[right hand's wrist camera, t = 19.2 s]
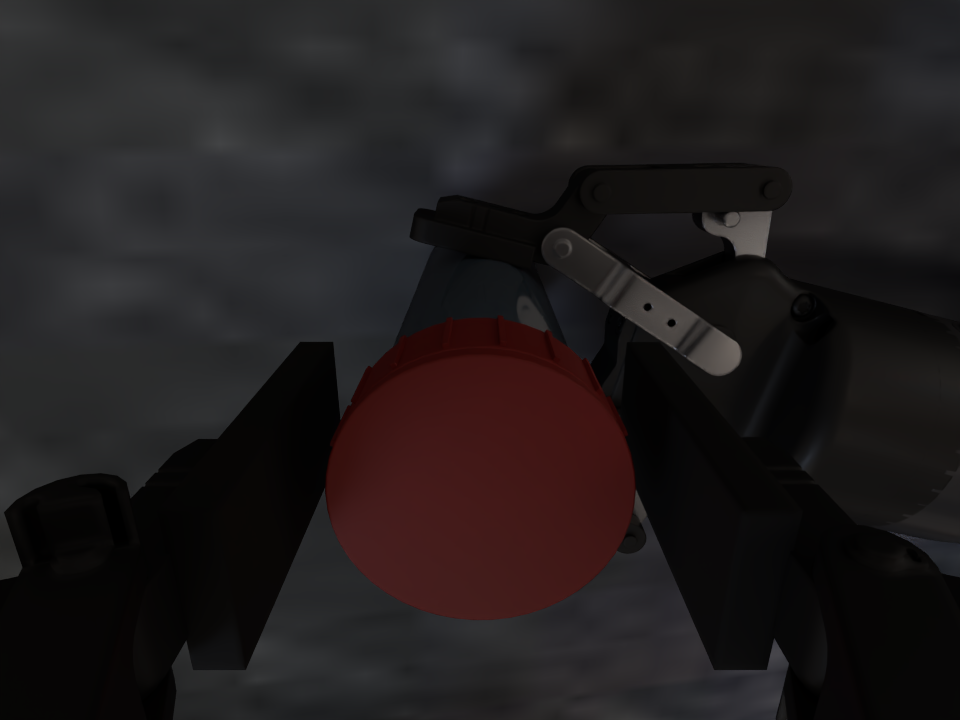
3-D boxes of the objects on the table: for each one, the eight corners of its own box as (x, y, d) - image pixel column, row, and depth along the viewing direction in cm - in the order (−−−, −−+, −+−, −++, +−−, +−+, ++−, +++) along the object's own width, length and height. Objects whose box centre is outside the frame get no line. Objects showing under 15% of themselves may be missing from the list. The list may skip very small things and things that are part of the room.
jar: (462, 351, 26) (440, 615, 12) (403, 260, 25) (298, 438, 11) (555, 298, 25) (653, 514, 11) (500, 201, 24) (529, 307, 10)
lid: (383, 276, 11) (361, 307, 9) (658, 362, 11) (694, 407, 10) (320, 513, 13) (291, 582, 11) (560, 576, 13) (573, 651, 11)
